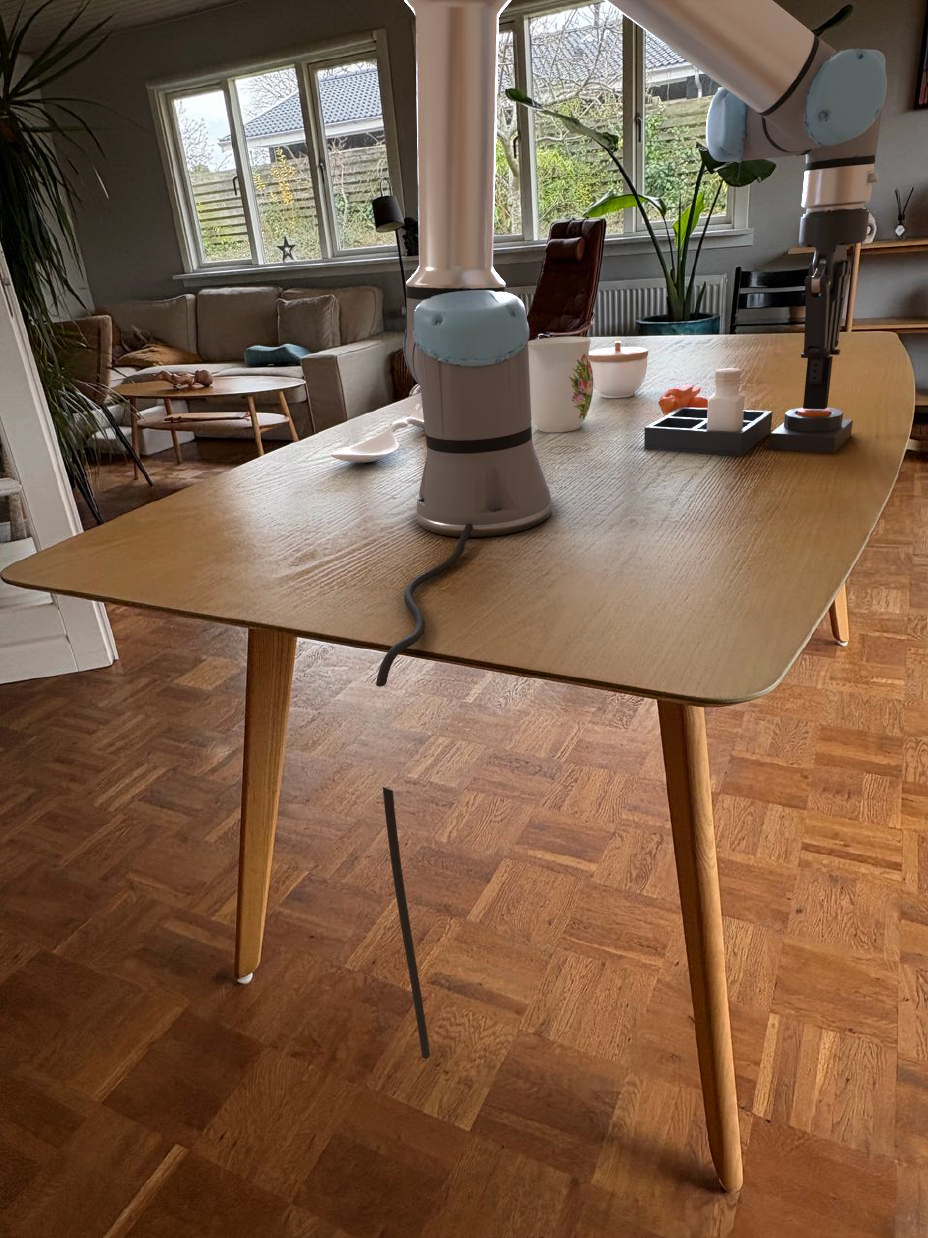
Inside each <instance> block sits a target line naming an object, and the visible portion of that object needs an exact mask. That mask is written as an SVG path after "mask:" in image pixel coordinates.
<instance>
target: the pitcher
mask: <svg viewBox="0 0 928 1238" xmlns="http://www.w3.org/2000/svg"><path fill="white" fill-rule="evenodd" d="M591 340H592V339H591V338H590V337H587V336H555V337H546V338H545V337H543V338H537V339H531V340H528V351H529V375H530V398H531V422H532V423H533V424H534V425H535V427H536V428H537V430H538V431H540V432H544V433H567V432H573V431H575V430H578V429H579V428H581V425H582V424H583V423H584V421H585V420H586V417H587V416H588V413H589V410H590V407H591V404H592V399H593V393H594V386H593V371H592V367H591V364H590V361H589V358H588V354H589V352H590V347H591Z"/></svg>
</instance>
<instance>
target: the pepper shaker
mask: <svg viewBox="0 0 928 1238" xmlns="http://www.w3.org/2000/svg"><path fill="white" fill-rule="evenodd" d="M741 372H742V370H741V368H738V367H737V368H736V367H730V368H729V367H727V368H726V367H725V368H718V369H716V370H715V372H714V373H715V375H714V377H715V378H714V393H713V394H712V395H710V396H709V398H708V399H707V400H708V413H707V430H718V431H734V432H738V431H740V430H741V429H742V428H743V415H744V410H745V398H746V397H745V395H744V394H742V393H740V385H741Z"/></svg>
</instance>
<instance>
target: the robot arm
mask: <svg viewBox="0 0 928 1238" xmlns="http://www.w3.org/2000/svg"><path fill="white" fill-rule="evenodd" d="M511 1H512V0H404V2H405V3H406V4H407V6H408V7H409V8H410V9H411V10H412V12H413V14H414V16H415V54H416V55H415V57H416V59H415V61H416V62H415V63H416V64H415V65H416V131H417V132H416V133H417V134H416V135H417V137H416V140H417V142H416V143H417V205H418V206H417V211H418V214H417V215H418V216H417V217H418V218H417V219H418V267H417V269H416V271H415V272H414V273H413V274H412V275H411V277H410V278H409V279H408V280H407V281H406V282H405V288H406V289H405V290H406V328H405V330H404V336H403V342H402V345H403V346H402V347H403V348H402V349H403V356H404V357H403V358H404V361H405V364H406V367H407V369H408V371H409V374H410V375H411V376H412V379H414V381H415V382H416V383H417V384H418V386H419V388H420V397H421V408H422V407H423V417H424V426H425V428H424V434H425V435H424V436H425V444H426V445H425V446H426V457H425V463H424V467H423V470H422V471H423V472H422V475H421V480H420V486H419V492H418V495H417V499H416V516H417V523H418V525H419V526H420V527H421V528H423V529H425V530H426V531H429V532H432V533H434V534H437V535H442V536H449V537H457V538H458V537H459V539H458V541H457V545H456V547H455V550H454V552H453V553H452V555H451V556H450V557H448V558H447V559H446V560H444V561H443V562H441V563H440V564H438V565H436V566H434V567H432V568H430V569H428V570H427V571H424V572H423V573H421V574H419V575H418V576H416V577H415V578H414V579H413V580H412V581H411V582H409V584H408V585H407V587H406V588H405V590H404V595H403V596H404V597H403V599H404V603H405V605H406V608H407V609H408V610H409V613H411V615H412V616H413V618H414V621H415V628H414V630H413V632H412V633H411V634H409V635H408V636H406V637H405V638H403V639H401V640H399V641H397V642H396V643H395V644H394V645H392V647H390V649H389V650H388V651H387V652H386V654H385V655H384V657H383V659H382V661H381V663H380V667H379V669H378V673H377V675H376V681H375V685H376V687H379V688H380V687H381V688H382V687H384V686H386V685H387V683H388V677H389V674H390V672H391V671H390V670H391V668H392V665H393V663H394V661H395V659H396V658H397V656H399V655H400V654H401V653H402V652H404V650H406V649H408V648H410V647H411V646H413V645H414V644H416V643H418V641H420V640H421V638H422V637H423V636H424V633H425V629H426V619H425V617H424V614H423V612H422V611H421V609H420V608H419V607H418V606H417V604H416V603H415V600H414V596H413V595H414V592H415V591H416V589H417V588H418V587H419V586H421V585H422V584H424V583H426V582H427V581H428V580H430V579H432V578H434V577H436V576H438V575H440V574H441V573H443V572H445V571H446V570H448V569H450V568H451V567H452V566H453V565H454V564H455V563H456V562H458V560H459V559H460V558H461V556H462V554H463V552H464V550H465V546H466V543H467V541H468V539H469V538H482V537H484V538H485V537H495V536H501V535H508V534H512V533H517V532H521V531H524V530H528V529H530V528H533V527H536V526H537V525H540V524H541V523H543V522H544V521H546V520H547V519H548V518H549V517H550V516H551V514H552V512H553V511H552V508H553V507H552V498H551V491H550V487H549V485H548V484H547V481H546V478H545V475H544V472H543V469H542V466H541V464H540V461H539V458H538V456H537V452H536V450H535V448H534V443H533V428H532V423H533V421H532V419H531V398H530V375H529V351H528V341H529V340H530V327H529V322H528V319H527V311H526V307H525V304H524V303H523V301H522V300H521V299H520V298H519V297H517V296H516V295H514V294H512V293H509V292H506V282H505V281H504V280H503V279H502V278H501V277H500V275H499V274H498V273H497V272H496V270H495V268H494V235H495V233H494V232H495V192H496V191H495V190H496V189H495V188H496V186H495V185H496V148H497V147H496V144H497V103H498V101H497V98H498V97H497V96H498V57H499V56H498V54H499V53H498V51H499V50H498V49H499V17H500V15H501V13H502V12H503V11H504V10H505V8H506V7H507V6H508V5H509V4H510V3H511ZM604 1H605V2H606V3H608V4H609V5H610V6H611V7H613V8H615V9H616V10H617V11H619V12H620V13H621V14H622V15H624V16H625V17H627V19H630V21H632V22H633V23H635V24H636V25H638V26H639V27H641V28H642V29H643V30H644V31H646V32H647V33H648V34H650V35H651V36H652V37H654V38H655V39H656V40H658V41H659V42H661V43H662V44H664V45H665V46H666V47H668V48H669V49H671V50H672V51H673V52H675V53H676V54H677V55H679V56H680V57H681V58H683V59H684V60H685V61H687V62H688V63H690V64H691V65H693V66H694V67H695V68H697V69H698V70H699V71H700V72H702V73H703V74H705V75H706V76H707V77H708V78H710V79H711V80H713V81H714V82H715V83H717V84H718V85H719V86H721V88H719V89H718V90H717V91H716V93H715V94H714V96H713V97H712V99H711V102H710V104H709V106H708V111H707V114H706V115H707V116H706V122H705V123H706V124H705V141H706V146H707V149H708V152H709V154H710V156H711V157H712V159H713V160H715V161H717V162H722V163H723V162H725V163H726V162H727V163H728V162H737V163H738V164H740V163H742V162H743V161H745V162H746V161H754V160H766V159H774V158H775V159H776V158H785V157H791V156H796V157H798V156H805V167H804V168H805V169H804V170H805V171H804V176H803V177H804V179H803V189H802V199H801V207H802V208H803V209H806V212H805V213H803V214H802V216H801V217H800V226H799V237H798V244H799V246H800V247H802V248H815V252H814V256H813V261H812V263H810V264H809V266H808V273H807V276H806V277H805V278H804V282H803V283H804V291H805V292H804V293H805V311H804V339H803V340H804V341H803V346H804V347H803V352H802V353H800V358H801V359H807V360H806V372H805V373H806V374H805V383H804V391H803V392H804V394H803V403H802V408H803V409H820V410H825V409H826V408H828V404H829V395H830V386H831V377H832V368H833V359H834V356H840V353H841V351H842V350H841V348H839V349H838V348H837V347H838V346H839V344H840V343H839V342H840V341H839V339H840V332H841V327H842V326H841V325H842V321H843V320H842V319H843V314H844V307H845V302H846V295H847V290H848V289H847V288H848V284H849V279H850V275H851V273H852V270H851V260H850V259H847V257H848V255H847V253H848V252H847V251H848V248H847V246H849V245H855V244H861V243H863V242H865V241H866V240H867V238H868V237H867V236H868V228H869V219H870V210H869V209H868V208H864V207H865V204H866V203H869V202H870V201H871V198H872V190H873V186H872V185H873V184H875V183H877V182H878V181H879V180H880V179H879V178H880V176H879V173H877V172H874V171H875V164H876V157H877V150H878V142H879V135H880V125H881V118H882V111H883V106H884V104H885V101H886V97H887V90H888V79H887V73H886V57H885V54H884V53H883V52H881V51H879V50H878V49H863V48H843V49H839V50H836V49H834V48H833V47H832V46H830V45H829V44H828V43H826V42H825V41H824V40H823V39H821V38H820V37H819V36H817V35H816V34H815V33H814V32H812V31H811V30H810V29H809V28H807V27H806V26H805V25H804V24H803V23H801V22H800V21H799V20H798V19H796V18H795V17H794V16H793V15H791V13H789V12H788V11H787V10H785V9H784V8H783V7H781V6H780V5H779V4H778V3H777V2H775V1H774V0H604ZM382 795H383V804H384V814H385V822H386V832H387V839H388V848H389V858H390V864H391V871H392V877H393V884H394V890H395V897H396V904H397V910H398V917H399V922H400V929H401V935H402V941H403V945H404V953H405V959H406V963H407V964H406V965H407V970H408V975H409V981H410V987H411V988H410V989H411V994H412V1000H413V1005H414V1006H413V1007H414V1013H415V1018H416V1024H417V1032H418V1040H419V1045H420V1052H421V1057H422V1059H424V1060H428V1059H429V1058H430V1056H431V1051H430V1044H429V1037H428V1030H427V1023H426V1016H425V1009H424V1003H423V997H422V989H421V983H420V979H419V973H418V966H417V960H416V959H417V958H416V953H415V947H414V941H413V935H412V934H413V933H412V929H411V923H410V915H409V910H408V903H407V897H406V896H407V895H406V889H405V882H404V876H403V868H402V867H403V866H402V860H401V853H400V845H399V837H398V827H397V826H398V825H397V818H396V810H395V809H396V807H395V799H394V790H391V789H390V788H387V787H384V786H382Z"/></svg>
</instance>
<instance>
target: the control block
mask: <svg viewBox="0 0 928 1238" xmlns="http://www.w3.org/2000/svg"><path fill="white" fill-rule="evenodd" d="M801 408H802V407H797V408H792V409H789V410H787V411H786V412H785V413H784V421H783V423H782V424H780V425H779V426H778V427H776V428H775V429H774V430H773V431H771V433H770V436H769V448H768V449H769V450H773V451H787V452H801V453H802V452H803V453H814V454H815V453H816V454H830V455H834V454H835V453H836V452H838V450H839V449H840V448H841V447H842V446H843V444H844V443H846V441H847V440H848V439H849V438H850V437H851V435H852V430H853V422H854V419H847V418H845V419H844V412H843V411H841V410H840V409H838V408H831V407H827V408H828V409H830V415H827V416H817V417H810V416H801V415H797V413H798V409H801Z"/></svg>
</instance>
